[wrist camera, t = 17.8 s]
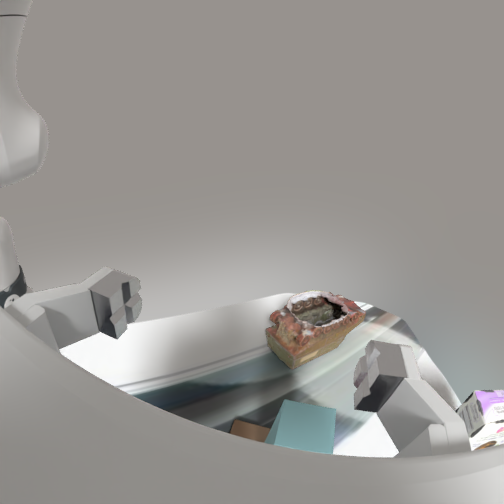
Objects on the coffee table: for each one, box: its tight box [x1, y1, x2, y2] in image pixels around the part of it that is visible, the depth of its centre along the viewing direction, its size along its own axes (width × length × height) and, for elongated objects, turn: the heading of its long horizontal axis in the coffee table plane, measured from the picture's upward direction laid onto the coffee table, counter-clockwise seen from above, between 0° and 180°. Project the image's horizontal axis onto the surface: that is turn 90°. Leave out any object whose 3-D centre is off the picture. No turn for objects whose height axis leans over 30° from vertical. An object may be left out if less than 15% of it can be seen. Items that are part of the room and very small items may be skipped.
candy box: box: [455, 390, 504, 451], centre depth 21 cm, size 14×6×16 cm, turn 75°
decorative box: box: [266, 290, 366, 370], centre depth 50 cm, size 13×20×10 cm, turn 115°
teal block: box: [264, 399, 336, 454], centre depth 23 cm, size 5×5×14 cm
